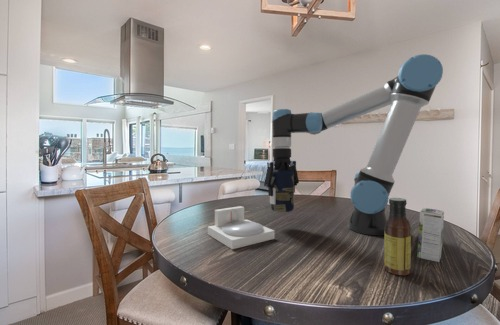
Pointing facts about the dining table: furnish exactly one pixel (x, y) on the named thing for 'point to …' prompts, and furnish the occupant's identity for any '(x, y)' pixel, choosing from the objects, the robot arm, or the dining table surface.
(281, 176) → the canister
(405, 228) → the sauce bottle
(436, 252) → the syrup box
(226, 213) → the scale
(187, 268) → the dining table surface
